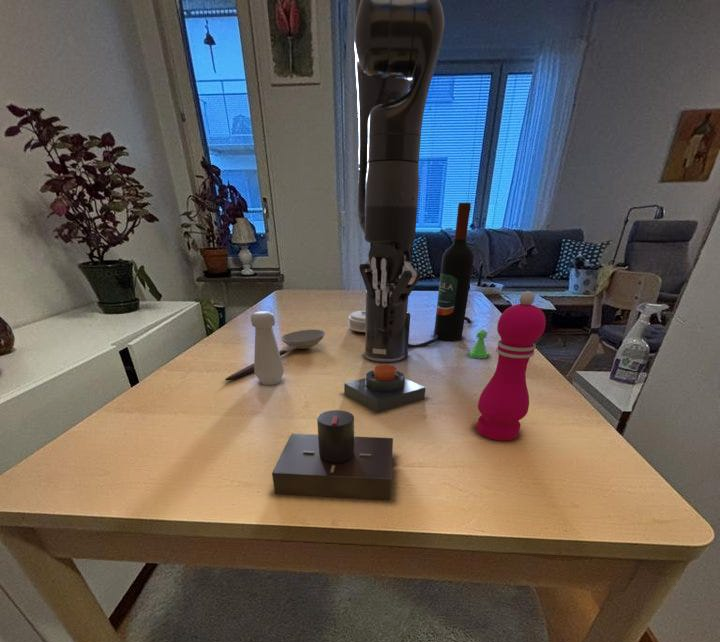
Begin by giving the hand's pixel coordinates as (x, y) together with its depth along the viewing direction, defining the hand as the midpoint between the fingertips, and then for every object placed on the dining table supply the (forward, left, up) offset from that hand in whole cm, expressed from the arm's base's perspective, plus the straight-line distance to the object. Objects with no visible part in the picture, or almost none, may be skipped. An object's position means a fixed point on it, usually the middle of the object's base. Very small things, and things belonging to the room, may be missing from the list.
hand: (385, 329), depth 66 cm
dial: (+21, +17, -9) cm, 28 cm away
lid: (-27, -41, -12) cm, 51 cm away
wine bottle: (-40, -23, -12) cm, 48 cm away
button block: (0, 0, -12) cm, 12 cm away
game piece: (-34, -7, -12) cm, 37 cm away
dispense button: (0, 0, -8) cm, 8 cm away
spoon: (+7, -31, -12) cm, 34 cm away
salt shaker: (+14, -19, -12) cm, 26 cm away
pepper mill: (-6, +21, -12) cm, 25 cm away
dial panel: (+21, +17, -12) cm, 29 cm away
